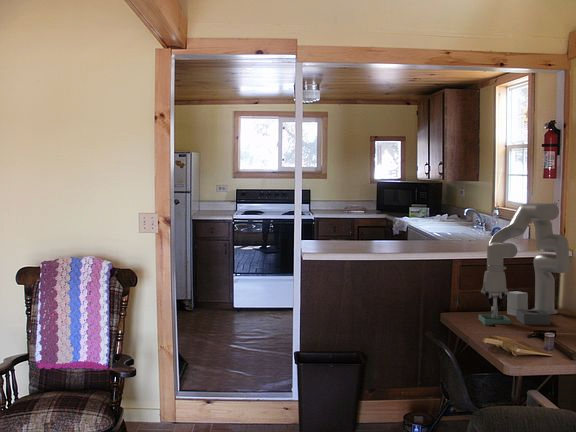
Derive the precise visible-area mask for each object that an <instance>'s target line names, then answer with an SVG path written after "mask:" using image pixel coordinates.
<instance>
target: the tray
mask: <svg viewBox="0 0 576 432" xmlns="http://www.w3.org/2000/svg"><path fill="white" fill-rule="evenodd" d="M479 320H480V321H481V322H482V323H481V322H480V321H479ZM478 321H479V322H480V323H481V324H483V325H484V326H489V325H500V324H501V325H511V324H512V320H511V319H510V318H509V317H507V316H506V315H505V314H498V318H491V314H478Z"/></svg>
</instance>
